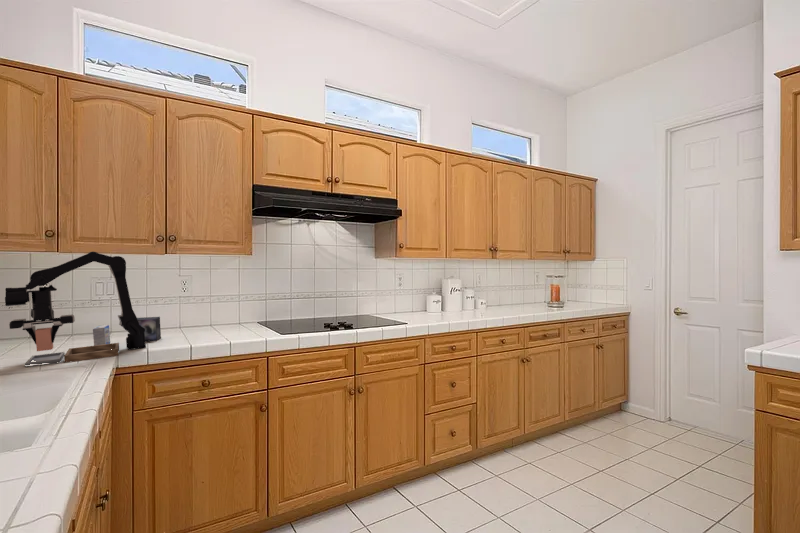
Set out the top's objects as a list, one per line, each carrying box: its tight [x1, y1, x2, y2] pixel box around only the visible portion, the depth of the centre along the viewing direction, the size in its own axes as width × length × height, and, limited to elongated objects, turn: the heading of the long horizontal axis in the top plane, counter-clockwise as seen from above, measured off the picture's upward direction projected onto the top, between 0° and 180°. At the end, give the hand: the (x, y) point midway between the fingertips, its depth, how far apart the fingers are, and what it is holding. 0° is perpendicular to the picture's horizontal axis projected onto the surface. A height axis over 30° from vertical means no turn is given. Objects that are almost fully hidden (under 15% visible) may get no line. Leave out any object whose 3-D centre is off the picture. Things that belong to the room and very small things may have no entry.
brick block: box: [35, 326, 55, 352], centre depth 165 cm, size 4×4×8 cm
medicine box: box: [92, 324, 111, 346], centre depth 190 cm, size 8×4×9 cm, turn 22°
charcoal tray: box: [24, 351, 66, 366], centre depth 165 cm, size 10×14×2 cm
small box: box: [137, 316, 162, 343], centre depth 199 cm, size 11×6×10 cm, turn 101°
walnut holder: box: [63, 342, 120, 363], centre depth 173 cm, size 17×15×2 cm
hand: (44, 343), depth 165 cm, fingers closed on brick block, 4 cm apart
